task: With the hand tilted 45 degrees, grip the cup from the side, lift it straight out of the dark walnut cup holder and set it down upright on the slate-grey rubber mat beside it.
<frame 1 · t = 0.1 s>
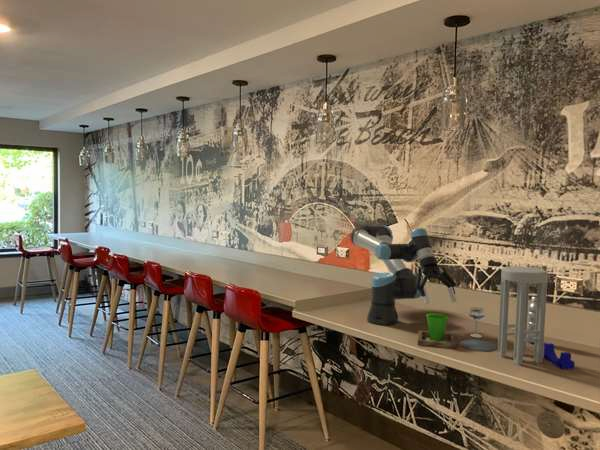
hand: (441, 302, 215), 15 cm above the table, tool tilted 35°, fingers open, 13 cm apart
mat: (478, 345, 204), on the table
cup: (436, 341, 209), resting in cup holder
plastic bottle: (533, 343, 209), on the table
stool: (519, 359, 189), on the table
wineglass: (476, 336, 218), on the table
cup holder: (436, 341, 209), on the table
cable clip: (558, 364, 185), on the table
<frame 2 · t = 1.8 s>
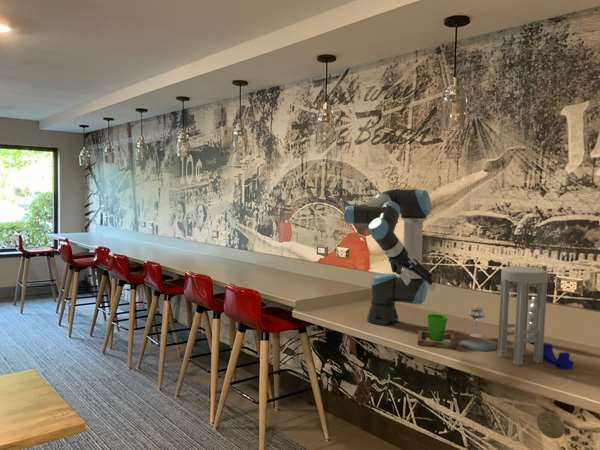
hand: (420, 285, 201), 25 cm above the table, tool tilted 45°, fingers open, 13 cm apart
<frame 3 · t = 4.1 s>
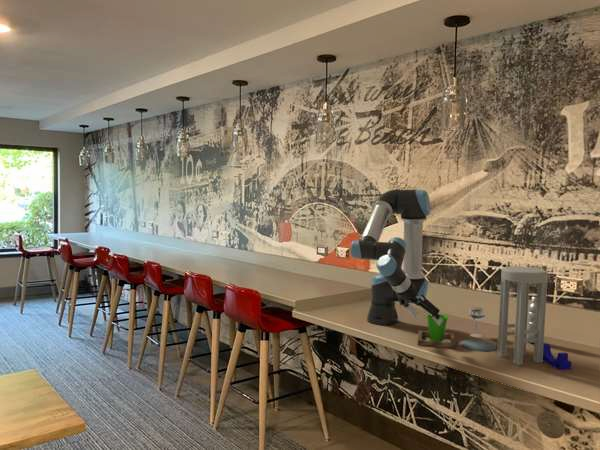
hand: (428, 318, 204), 11 cm above the table, tool tilted 45°, fingers open, 13 cm apart
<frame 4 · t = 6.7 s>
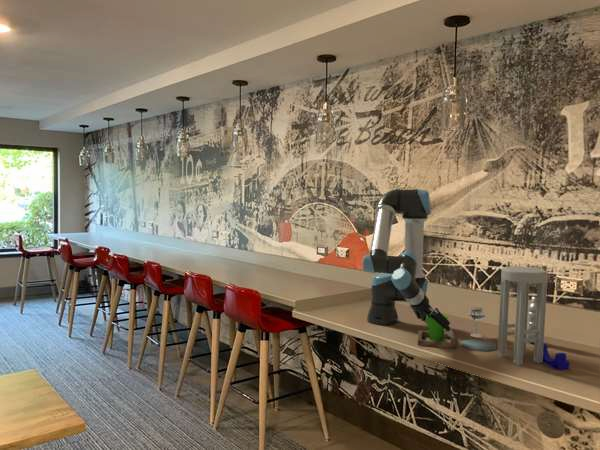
hand: (441, 331, 210), 4 cm above the table, tool tilted 45°, fingers closed on cup, 9 cm apart
cup: (436, 341, 209), resting in cup holder, touching gripper
cable clip: (552, 364, 184), on the table
everything else where it was.
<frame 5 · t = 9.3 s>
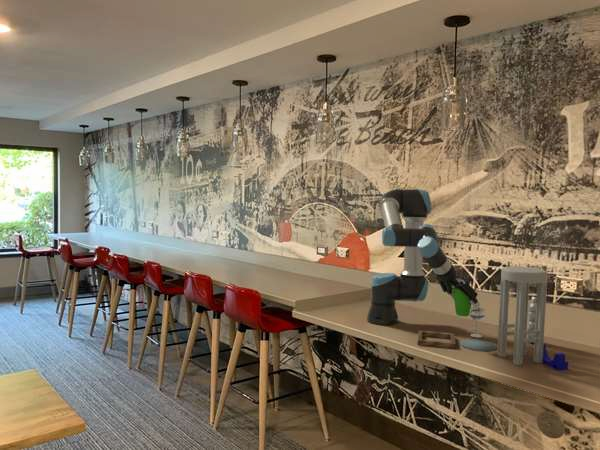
hand: (468, 304, 204), 17 cm above the table, tool tilted 45°, fingers closed on cup, 9 cm apart
cup: (462, 315, 203), point 13 cm above the table, touching gripper
when the fingers open (6 cm above the table, at t = 12.3 s): cup drops 1 cm, resting on mat.
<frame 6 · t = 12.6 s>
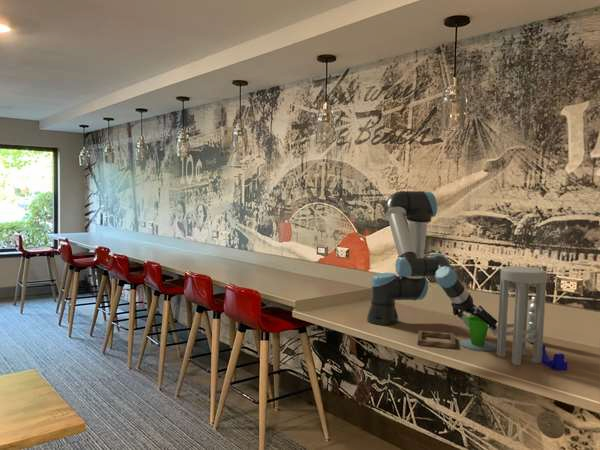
hand: (482, 328, 205), 7 cm above the table, tool tilted 45°, fingers open, 13 cm apart
cup: (477, 344, 204), resting on mat
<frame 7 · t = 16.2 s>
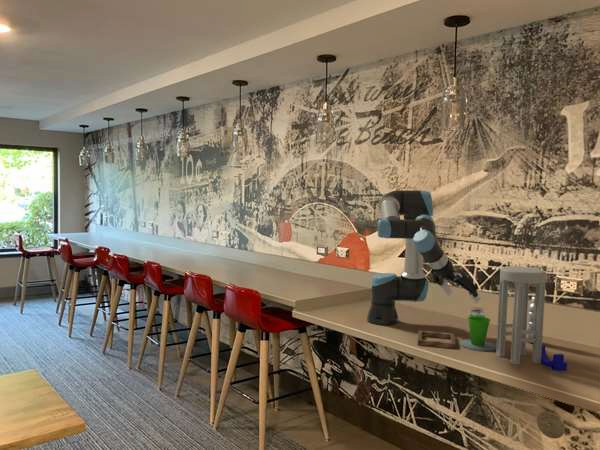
hand: (463, 297, 196), 22 cm above the table, tool tilted 45°, fingers open, 13 cm apart
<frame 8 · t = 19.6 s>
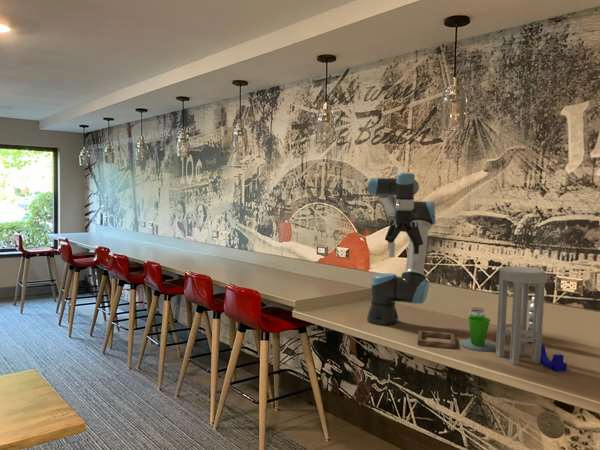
hand: (402, 259, 209), 35 cm above the table, tool pointing down, fingers open, 13 cm apart
at the end: cup inside the target area on the mat (0.3 cm from its centre), point 0.3 cm above the mat's base; cup tilted 0°; the gripper is holding nothing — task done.
